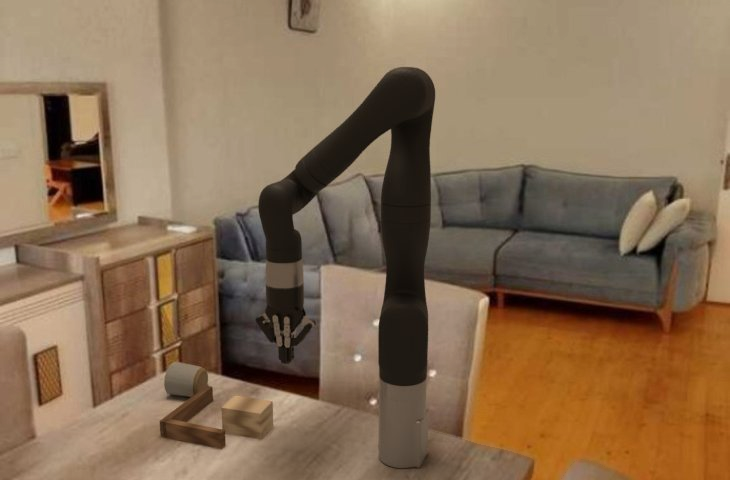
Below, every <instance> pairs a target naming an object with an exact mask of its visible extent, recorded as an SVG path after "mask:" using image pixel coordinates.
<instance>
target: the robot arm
mask: <svg viewBox="0 0 730 480" xmlns="http://www.w3.org/2000/svg"><path fill="white" fill-rule="evenodd" d="M435 101H436V88H435V84H434V82H433V79H432V77H431V76H430V75H429V74H428V73H427V72H426V71H425V70H423V69H421V68H418V67H413V66H399V67H394V68H392V69H390V70H389V71H388V72H386V73H385V74H384V75H383V76H382V78H381V79H380V80H379V82H377V84H376V85H375V86H374V87H373V89H372V90H371V92H370V93H369V94H368V95H367V96H366V97H365V99H364V100H363V101H362V102H361V103H360V105H359V106H358V107H357V108H356V109H354V111H353V112H352V113H351V114H350V115H349V116H348V117H347V118H346V119H345V120H344V121H343V122H342V123H341V124H340V125H338V126H337V128H335V129H334V130H332V131H331V132H330V133H329V134H328V135H327V136H326V137H324V138H323V139H322V140H321V141H319V142H318V143H317V144H316V145H315V146H314V147H312V149H310V150H309V151H308V152H307V153H306V154H305V155H304V156H303V157H301V158H300V160H299V161H297V163H296V165H295V167H294V169H293V170H292V171H291V172H289V174H287V175H286V176H285V177H284V178H282V179H281V180H279V181H276V182H272V183H270V184H268V185H266V186H265V187H264V188H263V189H262V190H261V191H260V194H259V198H258V206H257V207H258V214H259V215H258V216H259V218H260V219H259V220H260V223H261V227H262V231H263V234H264V237H265V268H264V269H265V270H264V271H265V272H264V280H265V303H266V307H265V310H264V313H262V314H260V315H259V316H257V317H256V318H255V322H256V324H257V325H258V327H259V328H260V329H261V331H262V332H263V334H264V335H265V337H266V339H267V340H268V341H269V342H270V343H271V344H272V343H275V344H276V346H277V347H278V351H277V352H278V360H279V361H280V364H283V365H290V363H292V361H293V360H295V347H296V346H298V345H299V344H301V343H302V342H304V340H305V338H306V337H307V336H308V335H309V334H310V332H312V331H313V329H314V328H315V327H316V325H317V322H316V321H315V320H311V319H310V318H308V317H307V314H306V313H307V312H306V310H305V308H304V303H305V291H304V289H305V288H304V287H305V286H304V285H305V283H304V266H303V259H302V258H303V247H302V244H303V242H302V236H301V233H300V231H299V230H297V229H295V226H294V218H293V217H294V215H295V214H297V213H299V212H300V211H302V210H303V209H304V208H305V207H306V206H307V205H309V204H310V202H312V200H313V199H314V198H315V197H316V196H317V195H318V194H319V193H320V192H321V191H322V190H324V189H325V188H326V187H327V186H329V185H331V183H333V182H334V181H335V180H336V179H337V178H339V176H341V175H342V174H343V173H344V172H345V171H346V170H348V169H349V167H351V166H352V165H353V164H354V163H355V161H356V160H357V159H358V158H359V157H360V155H362V153H363V152H364V151H365V150H366V149H367V148H368V147H369V146H370V145H371V144H372V143H373V142H375V141H376V140H377V139H378V138H380V137H381V136H382V135H384V134H385V133H387V132H388V131H390V134H391V135H390V150H389V156H388V160H387V164H386V168H385V172H384V175H383V176H384V177H383V180H382V185H381V193H380V227H381V228H380V231H381V238H382V239H381V241H382V246H383V253H384V258H385V259H384V260H385V267H386V268H385V269H386V272H385V285H384V294H383V302H382V306H381V310H380V314H379V315H380V316H379V320H378V329H377V330H378V334H377V335H378V337H377V338H378V344H377V345H378V347H377V348H378V351H377V352H378V353H377V354H378V355H377V357H378V360H377V361H378V362H377V363H378V447H377V448H378V459H379V461H381V462H382V463H383V464H385V465H386V466H389V467H392V468H396V469H397V468H398V469H410V468H421V466H422V464H423V462H424V461H425V459H426V457H427V454H428V450H429V449H428V447H429V445H428V443H429V418H430V417H429V409H427V384H428V379H427V377H428V376H427V375H428V353H429V352H428V351H429V310H428V305H427V296H426V284H425V283H426V282H425V280H426V279H425V264H426V263H425V262H426V256H427V251H428V245H429V241H430V233H431V232H430V231H431V218H432V217H431V215H432V210H431V209H432V191H431V187H432V184H431V174H432V173H431V170H432V169H431V153H430V147H431V136H432V135H431V133H432V126H433V118H434V117H433V115H434V112H435V111H434V109H435V104H436V103H435ZM301 323H302V324H301ZM300 325H301V331H300V332H299V333H298V334H297V335H296V333H297V332H298V331H297V329H298V328H299V326H300Z"/></svg>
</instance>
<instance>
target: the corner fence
mask: <svg viewBox="0 0 730 480" xmlns="http://www.w3.org/2000/svg"><path fill="white" fill-rule="evenodd" d="M213 390H214V389H213V386H211V385H207V386H206V387H204V388H203V389H202V390H200V391H199V392H198V393H196V394H195V395H194V396H192V397H189V398H188V399H187V400H186V401H184V402H182V404H180V405H178V407H176V408H175V409H174V410H172V411H171V412H169V413H168V414H167V415H166V416H164V417H163V418H161V419H160V420H159V431H160V434H159V435H160V437H163V438H167V439H172V440H178V441H182V442H187V443H191V444H196V445H200V446H206V447H210V448H215V449H220V450H222V449H224V448H225V447H226V446H227V443H226V433H225V430H223V429H222V428H216V427H212V426H207V425H201V424H198V423H197V424H196V423H192V422H188V421H189V420H191V419H192V418H193V417H194V416H196V415H197V414H199V412H201V411H202V410H203V409H205V408H206V407H207V406H208V405H209V404H211V403H212V402H213V401H214V393H213V392H214V391H213Z"/></svg>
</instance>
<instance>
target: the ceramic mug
mask: <svg viewBox="0 0 730 480" xmlns="http://www.w3.org/2000/svg"><path fill="white" fill-rule="evenodd" d="M208 383H209V375H208V372H207V369H205V368H204V367H201V366H199V365H194V364H190V363H184V362H180V361H172V363H171V364H169V366H168V367H167V369H166V371H165V375H164V383H163V384H164V385H163V386H164V391H165V392H166V394H168V395H173V396H180V397H188V398H191V397H192V396H194V395H195V394H196V393H198V392H199V391H200V390H202V389H203V388H204V387H206V386H208Z"/></svg>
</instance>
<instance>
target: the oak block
mask: <svg viewBox="0 0 730 480" xmlns="http://www.w3.org/2000/svg"><path fill="white" fill-rule="evenodd" d="M273 405H274V402H273V400H269V399H268V400H267V399H262V398H255V397H249V396H242V395H233V396H232V397H231V398H230V399H229V400H228V401H226V402H225V404H224V405H223V406H222V407H221V406H220V407H221V429H223V430H225V435H226V434H227V435H234V436H238V437H244V438H245V437H246V438H250V439H256V440H262V439H264V437H265V436H266V435H267V434H268V432H269V431H270V430H272V428H273V427H274V407H273Z"/></svg>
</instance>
